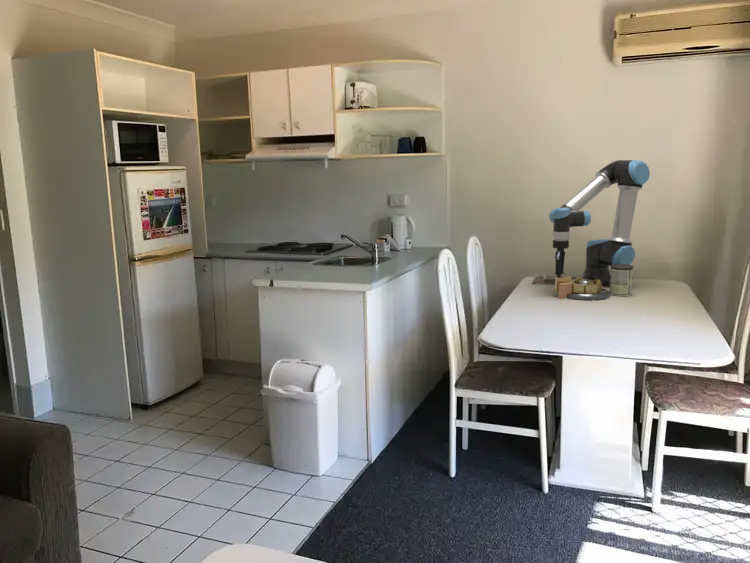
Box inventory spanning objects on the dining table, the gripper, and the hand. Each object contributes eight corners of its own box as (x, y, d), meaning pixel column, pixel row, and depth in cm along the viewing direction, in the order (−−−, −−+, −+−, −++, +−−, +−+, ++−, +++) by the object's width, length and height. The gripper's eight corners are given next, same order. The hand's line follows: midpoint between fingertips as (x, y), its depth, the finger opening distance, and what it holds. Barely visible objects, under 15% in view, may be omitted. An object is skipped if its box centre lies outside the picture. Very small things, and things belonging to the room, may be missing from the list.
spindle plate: (599, 289, 317) (599, 275, 315) (618, 299, 293) (619, 285, 292) (552, 290, 316) (552, 276, 315) (567, 301, 293) (568, 286, 291)
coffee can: (606, 291, 311) (608, 264, 308) (628, 291, 310) (629, 264, 307) (612, 296, 301) (614, 267, 298) (634, 296, 300) (636, 267, 297)
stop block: (568, 296, 302) (568, 282, 301) (571, 297, 300) (572, 283, 299) (558, 297, 300) (559, 283, 298) (561, 298, 298) (562, 284, 296)
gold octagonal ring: (592, 286, 312) (593, 272, 311) (606, 293, 298) (607, 278, 296) (549, 288, 310) (550, 274, 309) (561, 294, 296) (562, 280, 294)
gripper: (555, 237, 309) (553, 284, 314) (550, 241, 298) (548, 289, 303) (571, 238, 306) (568, 285, 311) (566, 242, 295) (564, 290, 300)
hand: (558, 287), depth 307 cm, fingers closed
